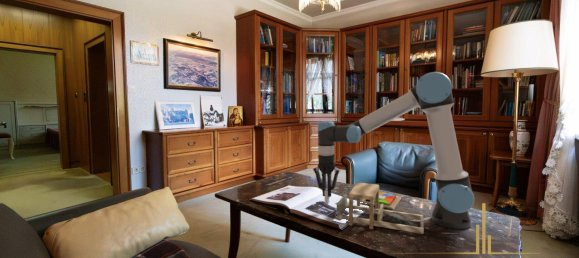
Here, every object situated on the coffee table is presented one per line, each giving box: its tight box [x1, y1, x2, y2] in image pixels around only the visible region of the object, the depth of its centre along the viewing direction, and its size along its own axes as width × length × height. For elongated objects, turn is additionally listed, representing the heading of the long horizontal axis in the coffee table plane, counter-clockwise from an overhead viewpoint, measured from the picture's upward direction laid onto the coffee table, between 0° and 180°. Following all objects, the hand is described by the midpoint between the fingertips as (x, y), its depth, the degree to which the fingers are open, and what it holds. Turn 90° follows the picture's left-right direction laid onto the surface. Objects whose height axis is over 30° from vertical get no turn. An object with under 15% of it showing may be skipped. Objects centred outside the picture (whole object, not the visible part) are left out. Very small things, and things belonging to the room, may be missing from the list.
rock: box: [381, 213, 412, 226], centre depth 120 cm, size 9×11×6 cm
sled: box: [336, 193, 425, 235], centre depth 123 cm, size 35×15×7 cm, turn 65°
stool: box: [348, 182, 380, 230], centre depth 126 cm, size 10×18×14 cm, turn 155°
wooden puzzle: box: [360, 191, 403, 211], centre depth 149 cm, size 18×19×4 cm
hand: (327, 203), depth 133 cm, fingers closed
